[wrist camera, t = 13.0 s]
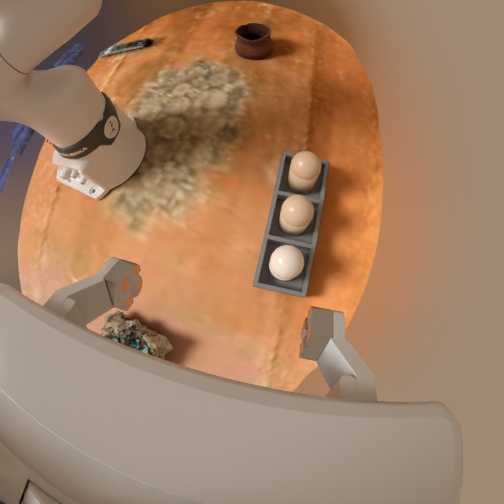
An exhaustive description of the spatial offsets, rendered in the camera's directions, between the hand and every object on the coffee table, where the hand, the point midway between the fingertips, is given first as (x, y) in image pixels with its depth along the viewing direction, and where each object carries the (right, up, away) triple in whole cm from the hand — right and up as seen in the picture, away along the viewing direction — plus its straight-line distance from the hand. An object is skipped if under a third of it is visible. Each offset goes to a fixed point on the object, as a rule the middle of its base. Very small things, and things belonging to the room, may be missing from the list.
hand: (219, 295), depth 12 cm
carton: (+8, +6, +30) cm, 32 cm away
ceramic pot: (+2, +48, +38) cm, 62 cm away
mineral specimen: (-17, -13, +29) cm, 36 cm away
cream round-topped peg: (+6, 0, +29) cm, 29 cm away
